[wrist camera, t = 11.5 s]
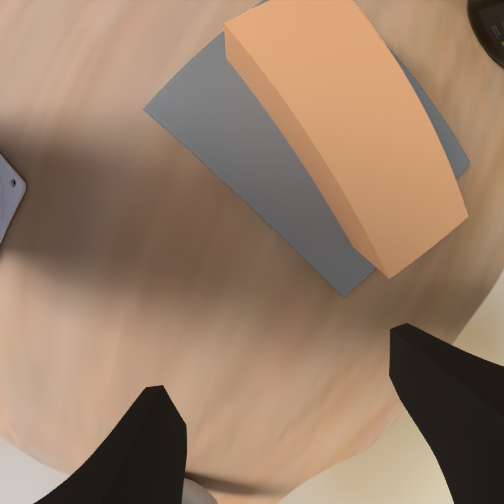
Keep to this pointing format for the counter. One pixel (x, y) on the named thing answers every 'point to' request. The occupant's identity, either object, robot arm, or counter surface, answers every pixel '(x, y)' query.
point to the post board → (268, 158)
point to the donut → (196, 494)
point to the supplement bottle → (488, 25)
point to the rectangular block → (350, 124)
